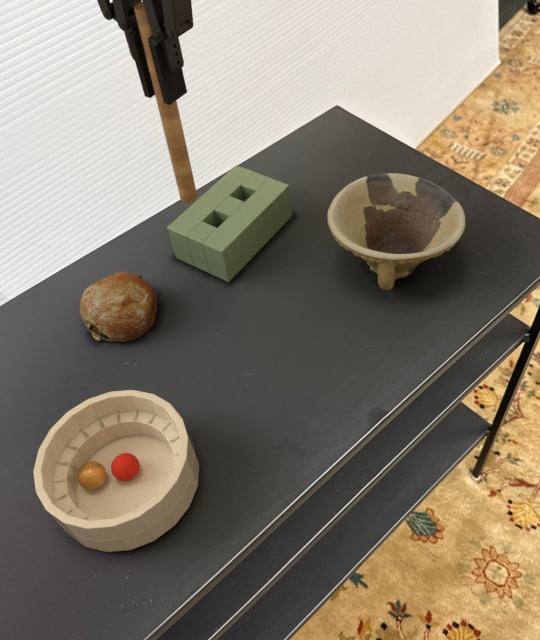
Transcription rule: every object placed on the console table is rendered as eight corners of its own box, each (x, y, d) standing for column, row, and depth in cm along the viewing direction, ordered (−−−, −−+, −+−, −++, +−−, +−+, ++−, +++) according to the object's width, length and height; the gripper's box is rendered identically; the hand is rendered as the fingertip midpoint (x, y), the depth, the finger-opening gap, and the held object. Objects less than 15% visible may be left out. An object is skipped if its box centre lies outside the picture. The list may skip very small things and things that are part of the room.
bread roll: (87, 341, 90) (55, 327, 82) (111, 272, 92) (82, 252, 84) (151, 356, 87) (124, 343, 80) (174, 285, 90) (150, 266, 82)
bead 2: (123, 481, 68) (101, 475, 69) (139, 485, 71) (117, 479, 72) (133, 453, 69) (111, 447, 70) (148, 459, 72) (126, 453, 73)
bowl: (448, 319, 85) (457, 268, 77) (316, 296, 88) (312, 245, 81) (465, 229, 95) (474, 177, 88) (346, 212, 99) (345, 161, 92)
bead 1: (79, 498, 69) (71, 475, 71) (106, 491, 71) (98, 469, 73) (84, 481, 67) (76, 458, 69) (112, 475, 69) (104, 453, 71)
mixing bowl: (28, 506, 70) (1, 477, 65) (127, 402, 79) (110, 368, 73) (133, 583, 65) (113, 558, 59) (228, 461, 73) (217, 430, 67)
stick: (177, 197, 76) (129, 6, 59) (190, 190, 77) (147, -1, 60) (186, 205, 75) (141, 12, 58) (200, 197, 76) (159, 5, 59)
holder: (175, 258, 94) (166, 227, 90) (241, 195, 103) (236, 164, 98) (228, 282, 91) (221, 251, 86) (292, 215, 99) (289, 184, 94)
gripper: (202, -197, 47) (246, 96, 65) (61, -214, 53) (138, 59, 71) (130, -170, 43) (198, 134, 61) (-13, -191, 49) (87, 92, 67)
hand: (166, 93), depth 66 cm, fingers closed on stick, 2 cm apart
